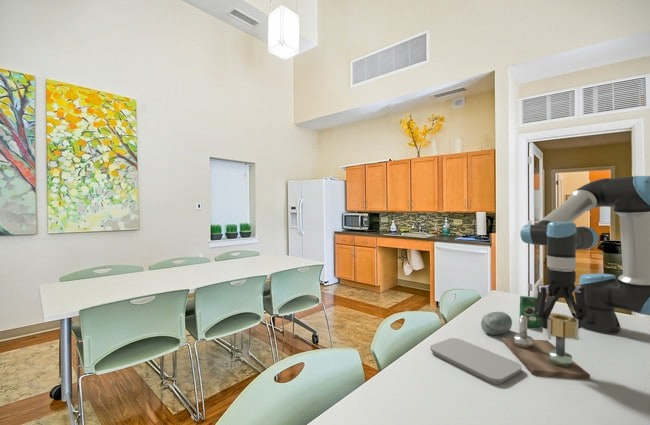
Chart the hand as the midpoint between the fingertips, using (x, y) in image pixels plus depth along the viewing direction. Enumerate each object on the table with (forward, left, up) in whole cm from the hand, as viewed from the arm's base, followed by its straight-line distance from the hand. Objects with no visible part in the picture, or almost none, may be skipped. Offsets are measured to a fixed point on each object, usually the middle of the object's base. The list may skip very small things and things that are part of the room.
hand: (560, 337), depth 100 cm
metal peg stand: (0, 0, -8) cm, 8 cm away
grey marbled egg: (+10, -27, -10) cm, 31 cm away
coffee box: (-7, -36, -10) cm, 38 cm away
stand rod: (+6, -12, -8) cm, 16 cm away
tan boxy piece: (0, 0, +2) cm, 2 cm away
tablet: (+27, 0, -11) cm, 29 cm away
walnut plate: (+3, -6, -10) cm, 12 cm away
